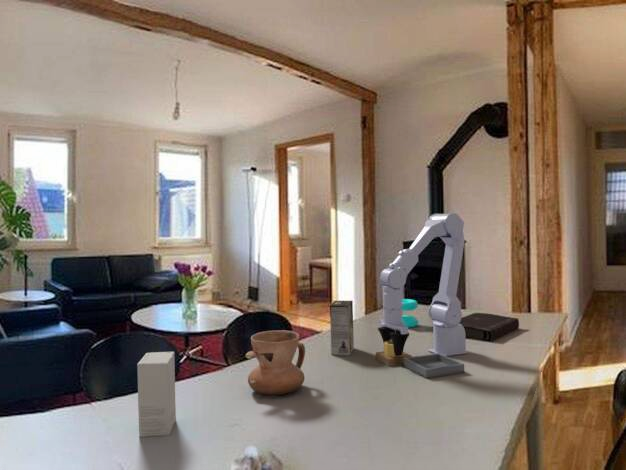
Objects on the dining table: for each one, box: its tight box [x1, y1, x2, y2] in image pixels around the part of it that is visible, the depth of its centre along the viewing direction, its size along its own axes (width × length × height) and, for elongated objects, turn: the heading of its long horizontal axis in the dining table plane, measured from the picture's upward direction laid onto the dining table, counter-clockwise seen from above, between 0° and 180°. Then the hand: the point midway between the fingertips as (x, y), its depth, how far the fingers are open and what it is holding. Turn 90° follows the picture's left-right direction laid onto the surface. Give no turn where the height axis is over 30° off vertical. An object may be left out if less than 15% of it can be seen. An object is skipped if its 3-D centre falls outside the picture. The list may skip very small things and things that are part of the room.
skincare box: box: [136, 351, 177, 438], centre depth 107 cm, size 8×7×16 cm
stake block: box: [375, 339, 413, 367], centre depth 151 cm, size 8×8×6 cm
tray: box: [402, 353, 465, 379], centre depth 142 cm, size 12×12×2 cm
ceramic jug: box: [244, 329, 306, 396], centre depth 129 cm, size 18×14×14 cm
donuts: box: [402, 298, 419, 329], centre depth 198 cm, size 10×10×10 cm
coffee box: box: [329, 300, 355, 356], centre depth 163 cm, size 9×6×16 cm
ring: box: [383, 341, 403, 357], centre depth 151 cm, size 5×5×4 cm
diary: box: [459, 312, 520, 343], centre depth 185 cm, size 19×25×5 cm
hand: (393, 352), depth 152 cm, fingers closed on ring, 5 cm apart
